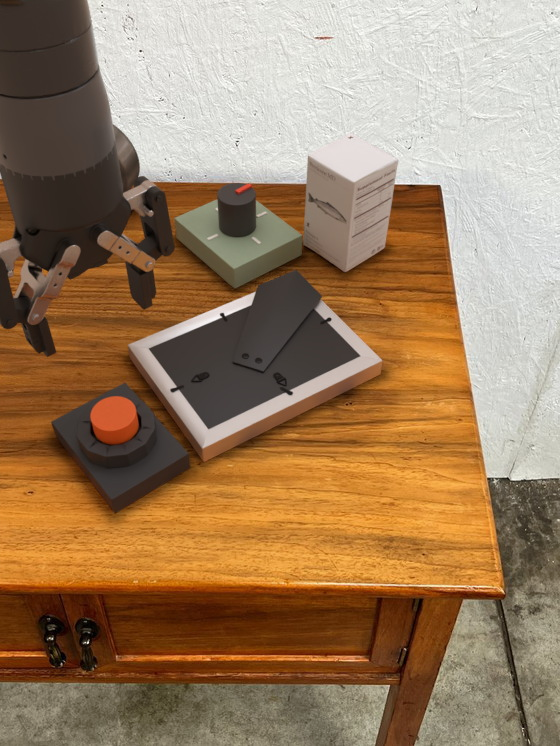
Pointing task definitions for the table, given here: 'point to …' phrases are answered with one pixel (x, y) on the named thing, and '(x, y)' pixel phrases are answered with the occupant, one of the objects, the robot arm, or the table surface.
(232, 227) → the dial knob
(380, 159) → the white packaging box
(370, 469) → the table surface
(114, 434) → the orange button cap
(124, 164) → the alarm clock
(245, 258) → the dial panel
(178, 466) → the button base
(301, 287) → the picture frame
